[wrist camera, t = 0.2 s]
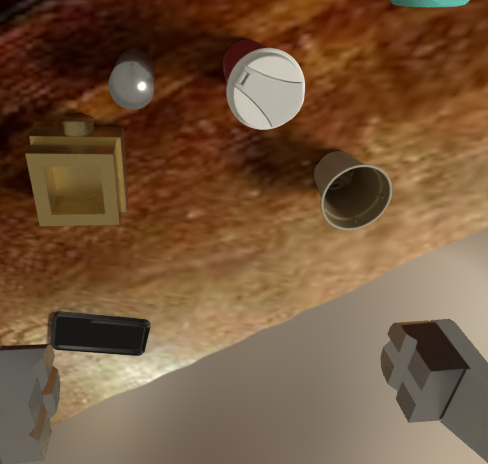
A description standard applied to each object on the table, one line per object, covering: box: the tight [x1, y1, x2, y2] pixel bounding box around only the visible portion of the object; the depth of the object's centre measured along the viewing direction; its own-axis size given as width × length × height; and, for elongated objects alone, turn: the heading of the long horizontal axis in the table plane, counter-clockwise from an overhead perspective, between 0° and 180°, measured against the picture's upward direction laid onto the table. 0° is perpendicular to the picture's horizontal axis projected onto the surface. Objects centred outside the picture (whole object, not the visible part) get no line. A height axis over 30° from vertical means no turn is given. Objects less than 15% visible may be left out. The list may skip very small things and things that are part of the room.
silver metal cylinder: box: [108, 48, 155, 109], centre depth 47 cm, size 4×4×9 cm
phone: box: [51, 311, 150, 356], centre depth 71 cm, size 8×1×15 cm
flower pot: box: [314, 151, 392, 230], centre depth 58 cm, size 9×9×9 cm
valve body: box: [25, 114, 129, 226], centre depth 52 cm, size 13×10×8 cm
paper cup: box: [223, 40, 305, 130], centre depth 46 cm, size 8×8×14 cm
